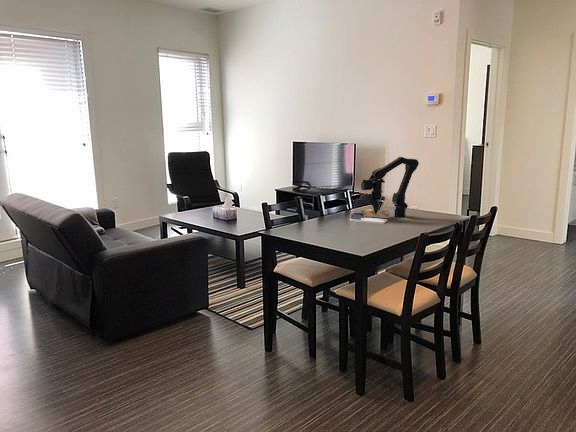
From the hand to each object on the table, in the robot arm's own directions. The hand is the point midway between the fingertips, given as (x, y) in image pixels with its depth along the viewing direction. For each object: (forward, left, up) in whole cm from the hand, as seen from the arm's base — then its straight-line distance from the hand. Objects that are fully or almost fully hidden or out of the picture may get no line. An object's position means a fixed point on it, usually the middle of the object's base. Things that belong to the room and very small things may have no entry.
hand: (376, 213), depth 304 cm
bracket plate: (+2, +12, -3) cm, 13 cm away
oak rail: (+1, 0, -1) cm, 2 cm away
